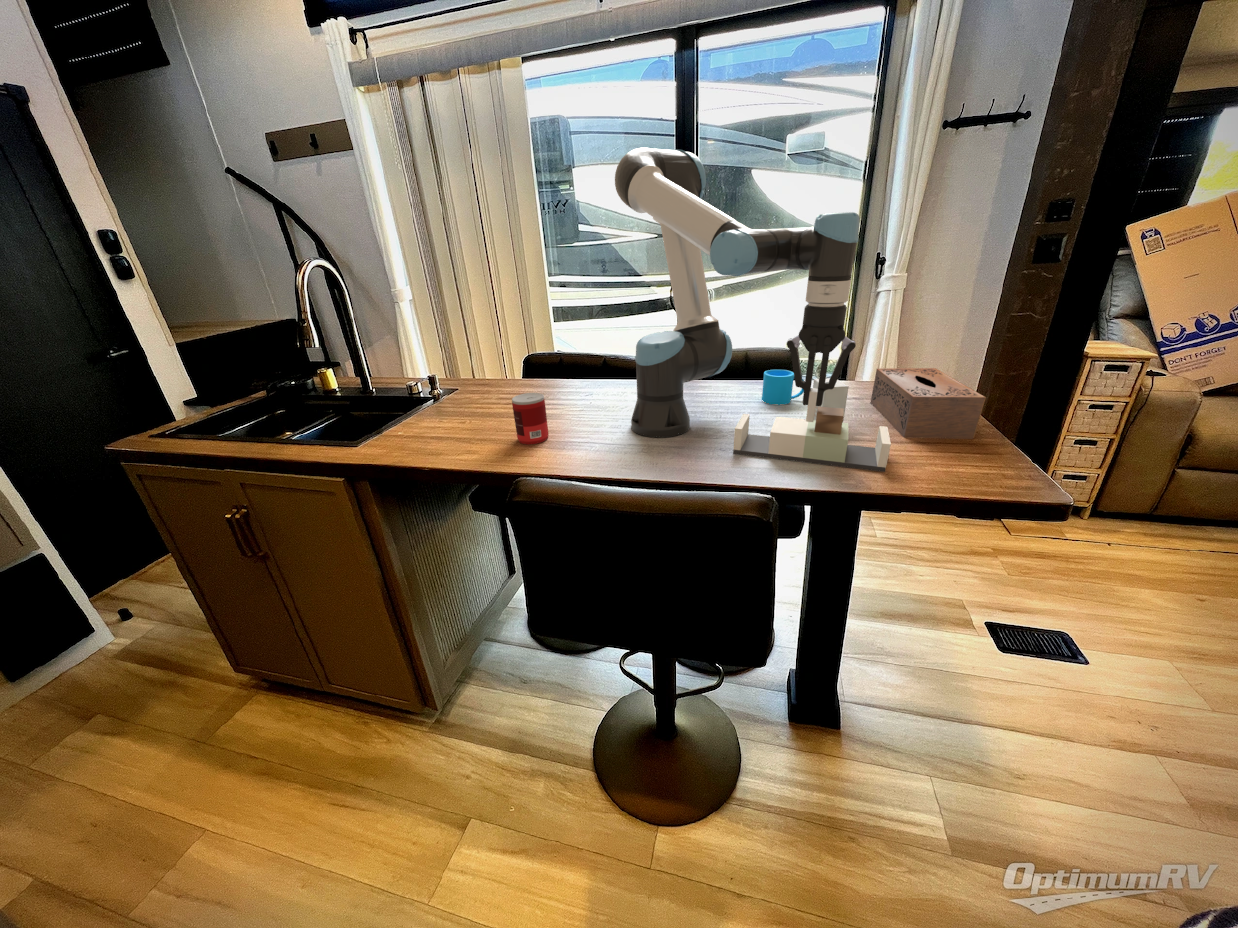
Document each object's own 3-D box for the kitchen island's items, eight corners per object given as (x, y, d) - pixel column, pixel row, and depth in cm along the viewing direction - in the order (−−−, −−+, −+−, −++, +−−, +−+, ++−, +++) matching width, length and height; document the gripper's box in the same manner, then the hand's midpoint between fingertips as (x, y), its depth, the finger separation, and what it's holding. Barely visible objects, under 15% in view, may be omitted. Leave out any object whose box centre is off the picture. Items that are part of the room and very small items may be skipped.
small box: (842, 428, 116) (849, 386, 111) (819, 428, 116) (825, 387, 111) (830, 417, 123) (836, 377, 118) (808, 417, 123) (813, 378, 119)
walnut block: (814, 432, 98) (816, 414, 97) (815, 424, 102) (818, 406, 101) (840, 434, 96) (843, 416, 95) (840, 426, 100) (843, 408, 99)
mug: (764, 405, 134) (766, 377, 130) (759, 396, 141) (761, 369, 138) (807, 404, 133) (811, 376, 129) (800, 396, 140) (803, 369, 137)
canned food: (554, 435, 120) (550, 393, 116) (537, 446, 114) (531, 403, 109) (530, 431, 123) (524, 391, 119) (511, 443, 117) (504, 400, 112)
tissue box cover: (870, 403, 131) (876, 368, 127) (926, 404, 129) (935, 368, 125) (903, 438, 109) (913, 397, 104) (973, 439, 106) (985, 397, 102)
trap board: (733, 453, 105) (734, 428, 102) (741, 437, 113) (743, 413, 110) (884, 472, 93) (890, 444, 91) (882, 452, 102) (887, 426, 99)
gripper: (788, 306, 89) (775, 422, 99) (864, 306, 84) (843, 429, 94) (792, 301, 95) (780, 411, 106) (863, 301, 91) (843, 416, 101)
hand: (809, 419), depth 100 cm, fingers closed
